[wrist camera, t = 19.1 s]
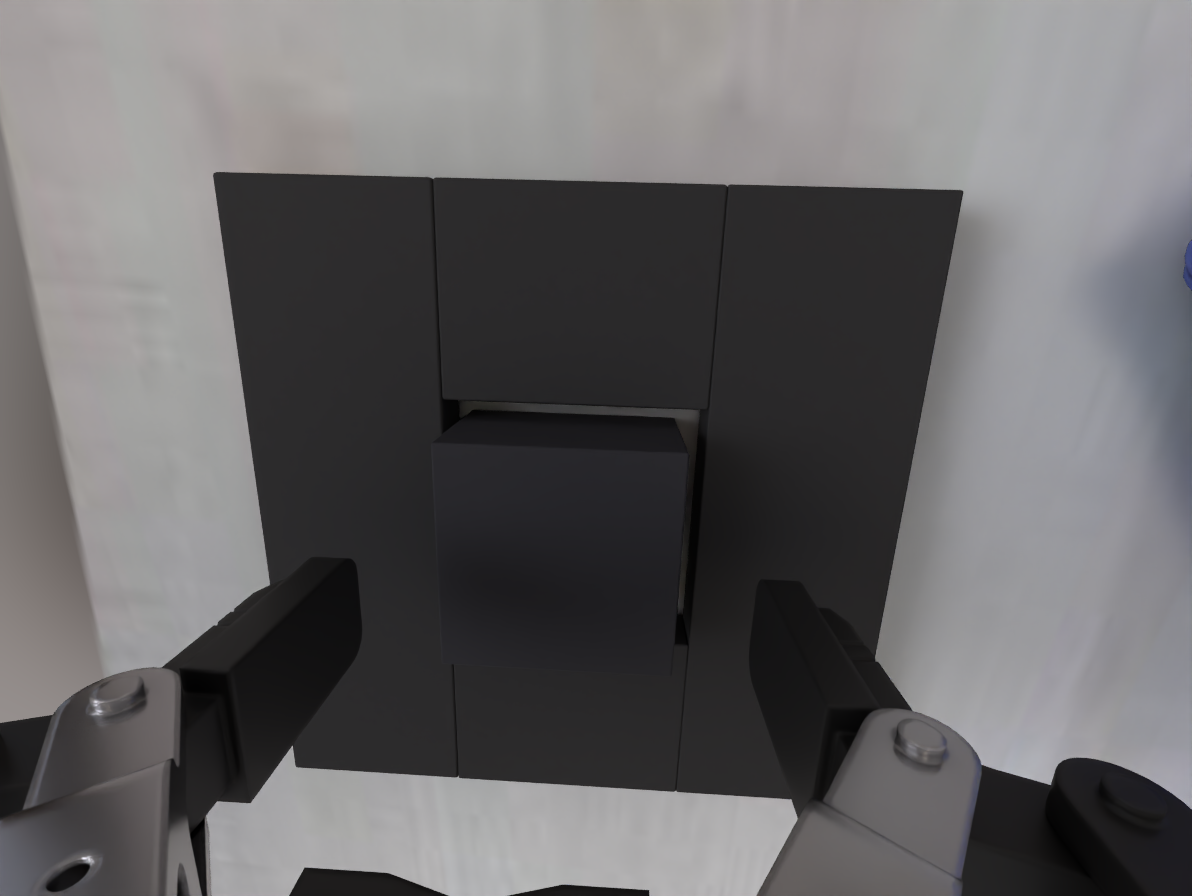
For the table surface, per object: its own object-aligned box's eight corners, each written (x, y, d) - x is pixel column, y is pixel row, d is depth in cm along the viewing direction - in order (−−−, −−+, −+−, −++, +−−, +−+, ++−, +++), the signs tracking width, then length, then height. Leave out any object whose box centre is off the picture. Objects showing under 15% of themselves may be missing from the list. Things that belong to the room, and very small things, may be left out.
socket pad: (320, 731, 18) (294, 768, 17) (253, 184, 14) (210, 171, 13) (829, 762, 18) (847, 803, 16) (928, 200, 13) (964, 189, 12)
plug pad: (477, 589, 17) (440, 665, 13) (472, 409, 15) (430, 442, 12) (662, 599, 17) (672, 677, 13) (674, 417, 15) (689, 453, 12)
